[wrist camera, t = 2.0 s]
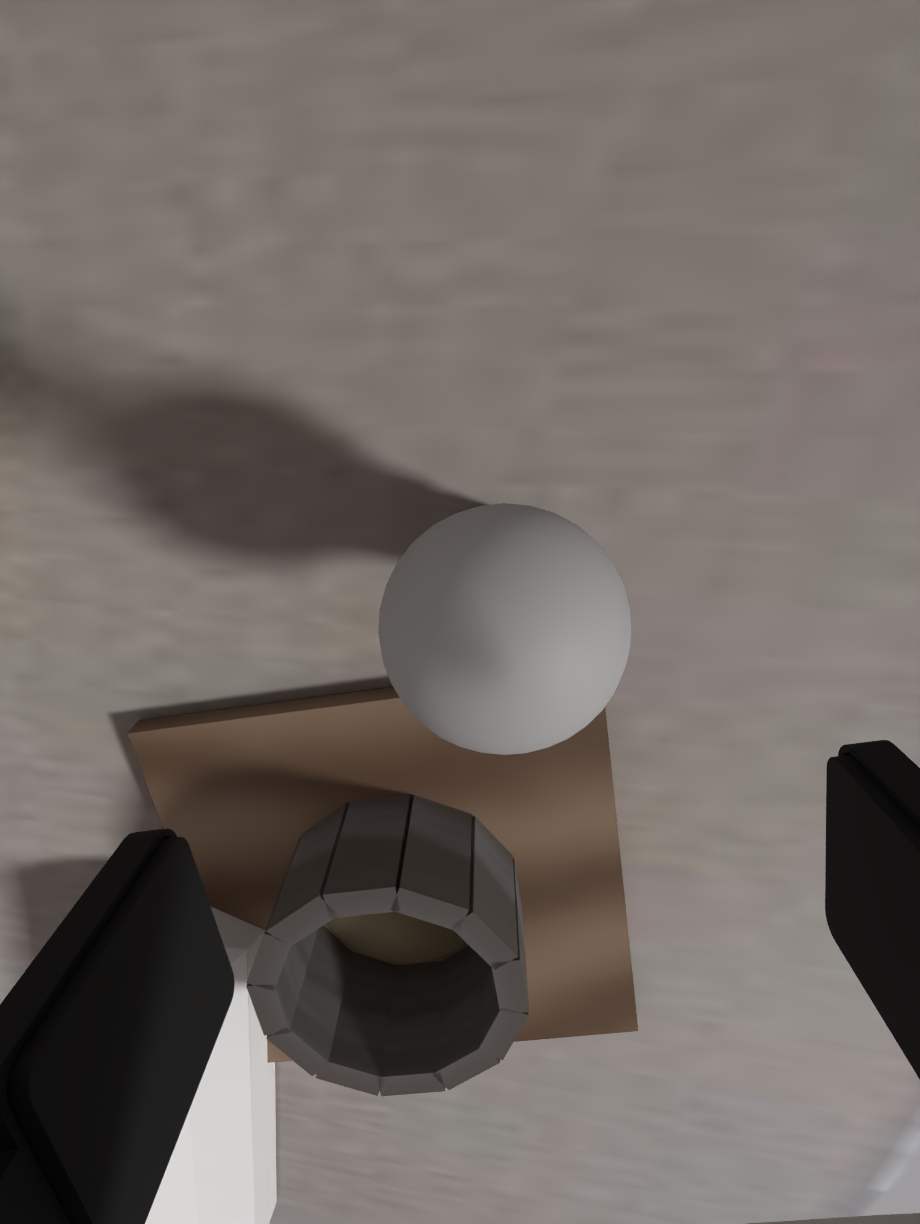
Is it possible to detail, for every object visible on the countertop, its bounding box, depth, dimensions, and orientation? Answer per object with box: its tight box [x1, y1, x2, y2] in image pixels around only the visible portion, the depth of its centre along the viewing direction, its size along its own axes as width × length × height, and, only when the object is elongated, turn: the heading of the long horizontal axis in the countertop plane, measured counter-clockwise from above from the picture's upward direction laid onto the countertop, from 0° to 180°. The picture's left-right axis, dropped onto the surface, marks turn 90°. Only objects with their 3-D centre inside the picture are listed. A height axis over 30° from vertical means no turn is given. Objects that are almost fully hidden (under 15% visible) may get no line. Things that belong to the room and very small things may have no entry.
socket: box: [127, 687, 638, 1096], centre depth 27 cm, size 18×18×6 cm
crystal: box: [145, 906, 276, 1224], centre depth 33 cm, size 7×7×24 cm
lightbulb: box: [379, 503, 631, 755], centre depth 20 cm, size 6×6×11 cm
